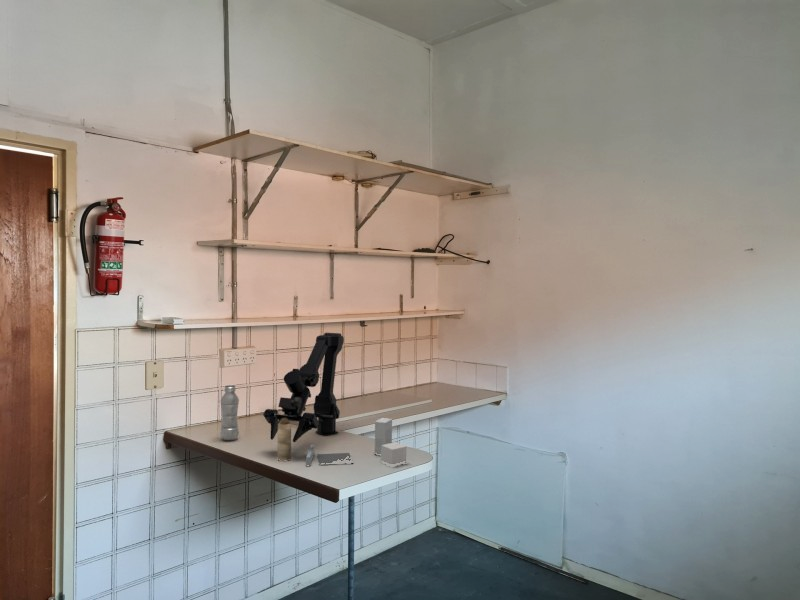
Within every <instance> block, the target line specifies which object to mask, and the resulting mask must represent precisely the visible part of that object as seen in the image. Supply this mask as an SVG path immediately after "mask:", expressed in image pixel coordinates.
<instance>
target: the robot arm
mask: <svg viewBox="0 0 800 600" xmlns="http://www.w3.org/2000/svg"><path fill="white" fill-rule="evenodd" d="M344 343H345V337H344V336H343V335H342V333H339V332H338V333H337V332H324V334H322V335H320V334H319V335H318V336H316V338H315V342H314V346H313V347H312V350H311V351H310V352H311V353H310V354H309V357H308V359H307V360H306V363H305V364H303V365H302V366H301V367H300V368H292V370H291V371H289V372H287V373H286V374H285V375H284V377H283V382H284V384H285V386H286V387H287V389H288V391H289V392H290V393H291V396H290V398H289V397H282V396H281V397H280V398H279V402H278V408H281V411H282V413H280V412H278V410H277V409H273V408H267V409H265V410H264V411H263V413H262V415H263V417H264V419H265V420H266V421H267V423H268V424H270V440H271V441H273V440H274V438H275V437H276V435H277V434H278V423H280V421H281V419H282V418H288V420H289V422H297V423H298V426H297V428H296V431H295V433H294V435H293V438H292V442H293V443H296V442H297V441H298V440H299V439H300V438H301V437H302V436H303V435H304V434H306V433H308V431H312V429H315V433H317V434H319V435H322V436H330V435H335V434H338V433H339V431H337V430H336V426H337V425H336V422H337V419H339V418H340V413H341V411H340V409H339V407H338V405H337V398H336V396H335V394H334V387H335V379H336V377H335V376H336V368H337V358H338V355H339V354H340V353H341V351H342V350H343V345H344ZM322 362H323V368H322V377H321V385H320V386H321V387H320V392H319V393H318V394H317V395H315V397H314V404H313V413H312V412H305V411H306V409H307V408H306V403H307V401H308V400H309V398H312V394H311V391H310V388H314V387H316V386H317V384H319V380H320V373H319V369H320V367H321V364H322ZM309 387H310V388H309Z"/></svg>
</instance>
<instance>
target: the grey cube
mask: <svg viewBox="0 0 800 600" xmlns="http://www.w3.org/2000/svg"><path fill="white" fill-rule="evenodd" d="M381 460H382V461H384V462H387V463H389V464H396V463H400V462H403V461H406V462H407V446H406V445H404V444H401V443H398V442H392V443H390V444H385V445H381V456H380V461H381Z"/></svg>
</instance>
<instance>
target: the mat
mask: <svg viewBox="0 0 800 600" xmlns="http://www.w3.org/2000/svg"><path fill="white" fill-rule="evenodd" d="M316 455H318V456H317V460H318V459H319V460H318V463H320V464H321V463H325V464H326V463H332V462H333V461H337V460H338V459H339V460H341V459H343V460H344V459H345V458H346V457H347V456H349V458H350V457H351V458H352V456H351V454H350V452H341V453H340V452H339V453H338V452H336V453H317V454H316ZM349 458H348V459H346V460H349V461H350V460H351V459H349ZM343 460H341V461H343ZM320 464H319V465H320Z"/></svg>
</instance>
